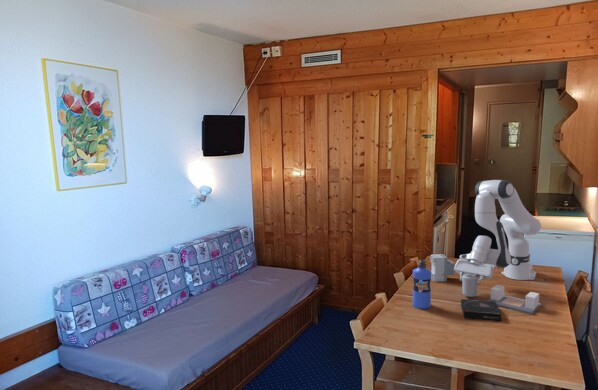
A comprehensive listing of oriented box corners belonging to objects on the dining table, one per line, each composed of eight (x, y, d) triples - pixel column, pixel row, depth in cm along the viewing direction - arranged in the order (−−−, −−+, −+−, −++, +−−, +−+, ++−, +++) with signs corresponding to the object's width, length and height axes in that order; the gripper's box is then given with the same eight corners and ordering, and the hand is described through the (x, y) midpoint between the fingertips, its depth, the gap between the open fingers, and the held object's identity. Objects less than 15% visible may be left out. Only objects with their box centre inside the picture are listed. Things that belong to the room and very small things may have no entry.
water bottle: (431, 309, 215) (432, 262, 211) (413, 308, 216) (413, 262, 213) (429, 302, 224) (430, 257, 220) (411, 301, 226) (412, 257, 222)
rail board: (497, 295, 231) (497, 282, 230) (541, 305, 216) (541, 292, 215) (486, 303, 221) (486, 290, 220) (531, 314, 205) (532, 300, 204)
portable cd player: (494, 308, 215) (495, 301, 215) (501, 322, 199) (501, 314, 198) (460, 305, 220) (460, 298, 219) (464, 319, 203) (464, 311, 203)
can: (461, 296, 228) (461, 275, 227) (463, 291, 235) (463, 271, 233) (476, 298, 225) (476, 276, 223) (477, 293, 231) (477, 272, 230)
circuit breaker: (456, 281, 256) (457, 257, 254) (433, 281, 256) (433, 257, 254) (452, 277, 263) (453, 253, 261) (429, 277, 264) (430, 254, 262)
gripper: (497, 266, 228) (490, 288, 223) (460, 260, 243) (453, 281, 237) (494, 260, 225) (487, 283, 219) (457, 254, 239) (449, 275, 234)
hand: (469, 281), depth 228 cm, fingers closed on can, 7 cm apart
